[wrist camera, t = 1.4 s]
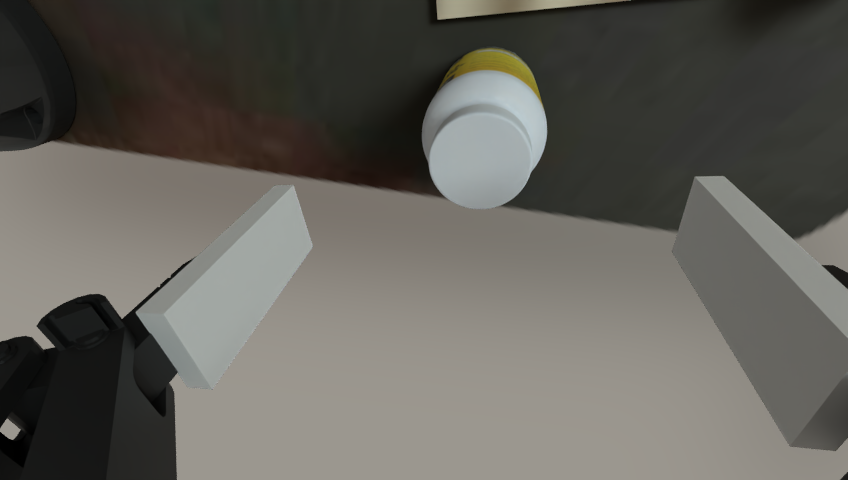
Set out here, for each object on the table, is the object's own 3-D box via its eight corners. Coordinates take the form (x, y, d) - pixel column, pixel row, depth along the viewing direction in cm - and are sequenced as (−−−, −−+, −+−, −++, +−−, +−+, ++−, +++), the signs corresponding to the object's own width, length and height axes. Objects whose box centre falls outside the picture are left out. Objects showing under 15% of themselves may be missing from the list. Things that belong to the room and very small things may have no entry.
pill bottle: (477, 23, 24) (460, 53, 15) (557, 82, 26) (589, 146, 16) (424, 110, 28) (383, 179, 19) (496, 159, 29) (493, 247, 20)
